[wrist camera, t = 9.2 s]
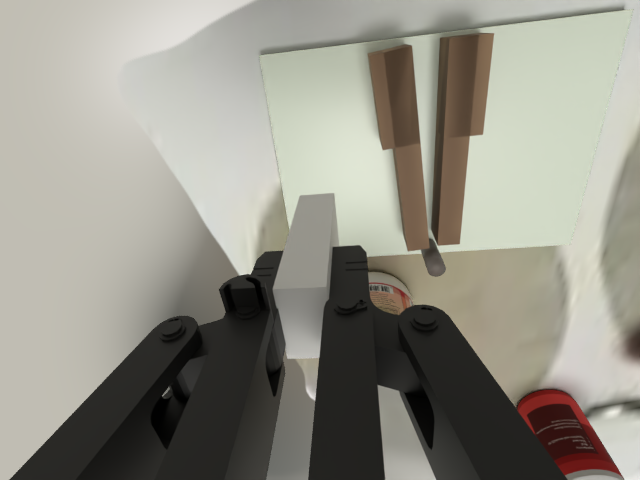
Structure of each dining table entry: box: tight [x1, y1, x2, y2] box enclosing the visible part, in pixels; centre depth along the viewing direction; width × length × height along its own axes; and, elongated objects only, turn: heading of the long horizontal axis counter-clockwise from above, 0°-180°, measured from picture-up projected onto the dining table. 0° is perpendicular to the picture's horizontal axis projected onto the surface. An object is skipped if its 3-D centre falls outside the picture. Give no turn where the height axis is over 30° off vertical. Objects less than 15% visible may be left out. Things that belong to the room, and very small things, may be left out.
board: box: [259, 9, 634, 257], centre depth 33 cm, size 28×20×1 cm
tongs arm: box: [367, 44, 430, 252], centre depth 31 cm, size 3×17×3 cm, turn 13°
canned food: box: [517, 390, 624, 480], centre depth 45 cm, size 8×8×11 cm
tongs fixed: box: [421, 33, 494, 277], centre depth 31 cm, size 4×20×4 cm, turn 7°
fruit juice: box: [368, 272, 436, 480], centre depth 31 cm, size 9×9×28 cm
